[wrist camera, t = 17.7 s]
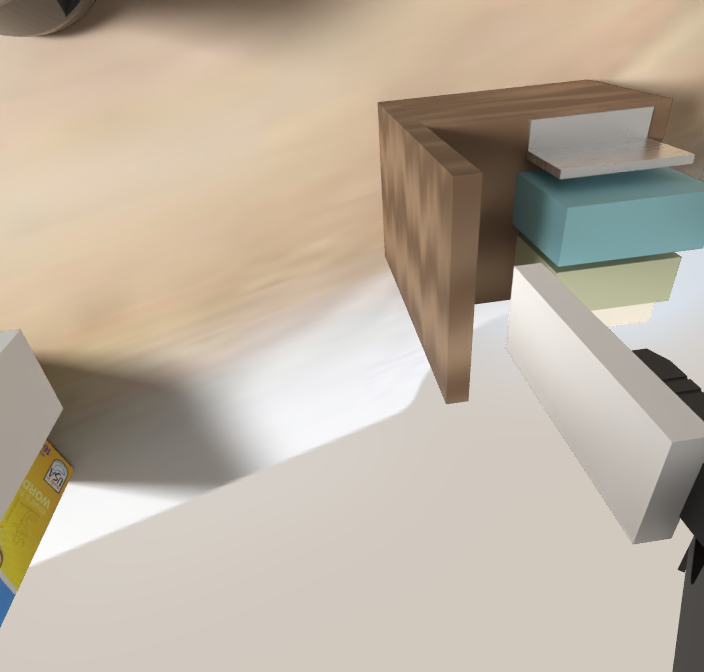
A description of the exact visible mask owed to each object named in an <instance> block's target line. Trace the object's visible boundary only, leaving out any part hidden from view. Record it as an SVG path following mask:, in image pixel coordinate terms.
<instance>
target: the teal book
mask: <svg viewBox="0 0 704 672" xmlns="http://www.w3.org/2000/svg"><path fill="white" fill-rule="evenodd" d="M512 224H513V225H514V226H515V227H516V228H517V229H518V230H519V231H520V232H521V233H523V234H524V235H525V236H526V237H527V238H528V239H529V240H530V241H531V242H532V243H533V244H534V245H535V246H536V247H538V248H539V249H540V250H541V251H542V252H543V253H544V254H545V255H546V256H547V257H548V258H549V259H550V260H551V261H552V262H554V263H555V264H556V265H557V266H558V267H561V266H569V265H576V264H584V263H592V262H600V261H608V260H616V259H623V258H631V257H639V256H647V255H655V254H662V253H670V252H678V251H685V250H694V249H701V248H703V246H704V181H701V180H699V179H697V178H694V177H692V176H689V175H687V174H684V173H682V172H679V171H677V170H674V169H672V168H670V167H661V168H652V169H644V170H635V171H627V172H618V173H610V174H601V175H593V176H584V177H576V178H568V179H558V178H557V177H555V176H553V175H552V174H550V173H548V172H547V171H545V170H537V171H529V172H520V173H517V180H516V190H515V200H514V210H513V220H512Z"/></svg>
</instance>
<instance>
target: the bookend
mask: <svg viewBox="0 0 704 672" xmlns="http://www.w3.org/2000/svg"><path fill="white" fill-rule="evenodd" d="M653 110H654V106H645V107H636V108H627V109H618V110H609V111H600V112H591V113H582V114H573V115H564V116H555V117H546V118H537V119H530V122H529V131H528V140H527V149H526V159H527V160H529V161H531V162H532V163H534V164H535V165H537V166H539V167H540V168H542V169H544V170H545V171H547V172H548V173H550V174H552V175H553V176H555V177H557V178H558V179H568V178H576V177H584V176H593V175H601V174H610V173H618V172H627V171H635V170H644V169H652V168H661V167H669V166H678V165H686V164H693V161H694V158H695V154H693V153H690V152H687V151H685V150H682V149H679V148H676V147H673V146H670V145H667V144H665V143H662V142H659V141H656V140H653V139H650V138H647V135H648V131H649V127H650V122H651V118H652V114H653Z"/></svg>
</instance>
